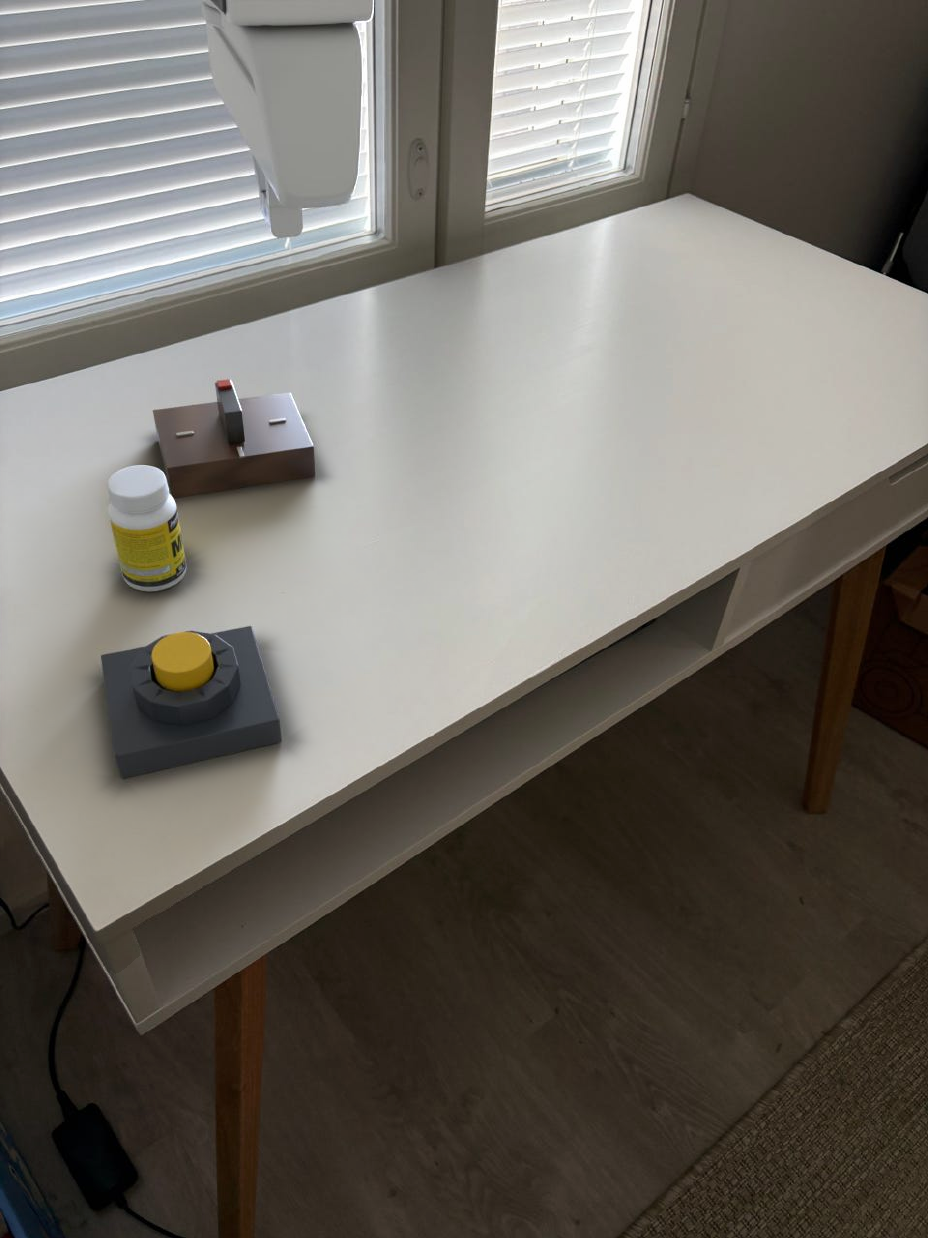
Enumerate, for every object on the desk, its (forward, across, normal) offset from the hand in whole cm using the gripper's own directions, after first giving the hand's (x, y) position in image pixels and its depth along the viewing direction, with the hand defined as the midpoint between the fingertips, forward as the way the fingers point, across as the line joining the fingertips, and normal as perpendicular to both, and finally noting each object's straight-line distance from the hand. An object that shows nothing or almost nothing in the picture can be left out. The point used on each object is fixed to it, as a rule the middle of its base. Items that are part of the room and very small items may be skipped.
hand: (282, 227), depth 57 cm
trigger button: (+24, +10, -10) cm, 27 cm away
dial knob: (+24, -18, -2) cm, 30 cm away
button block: (+27, +10, -10) cm, 31 cm away
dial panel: (+27, -18, -2) cm, 33 cm away
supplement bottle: (+27, -4, -11) cm, 30 cm away
